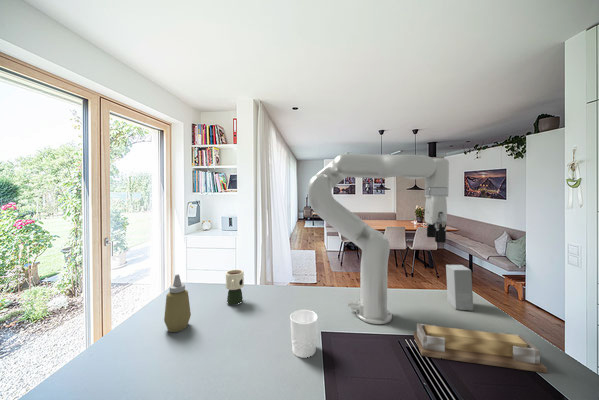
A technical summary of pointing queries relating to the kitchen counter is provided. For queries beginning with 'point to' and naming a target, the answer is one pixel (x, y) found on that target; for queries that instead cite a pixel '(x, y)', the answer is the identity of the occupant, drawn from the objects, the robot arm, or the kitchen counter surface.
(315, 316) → the white cup
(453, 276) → the skincare box
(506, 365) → the end cap frame
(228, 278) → the character mug
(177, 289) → the squeeze bottle
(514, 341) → the slat
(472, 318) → the kitchen counter surface
